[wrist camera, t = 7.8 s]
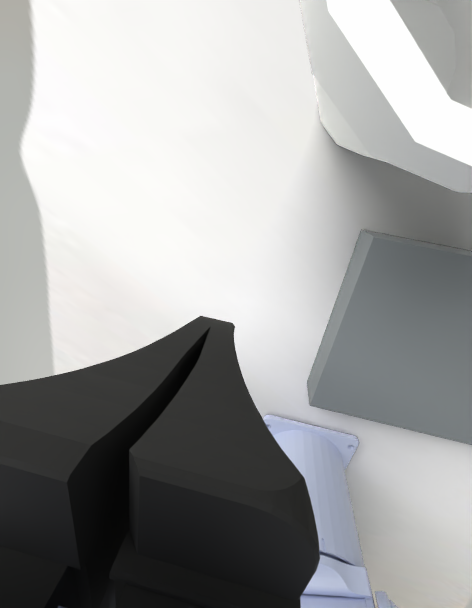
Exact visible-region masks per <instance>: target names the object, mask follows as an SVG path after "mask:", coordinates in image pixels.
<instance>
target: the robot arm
mask: <svg viewBox="0 0 472 608" xmlns="http://www.w3.org/2000/svg"><path fill="white" fill-rule="evenodd" d="M234 329H235V326H234V325H233V323H230V322H225V321H221V320H216V319H212V318H208V317H203V316H200V317H198V318H196V319H195V320H193V321H191V322H190V323H188V324H186V325H185V326H183V327H181V328H180V329H178V330H176V331H175V332H173V333H171V334H169V335H168V336H166V337H164V338H162V339H160V340H158V341H156V342H154V343H152V344H150V345H148V346H146V347H143V348H141V349H139V350H137V351H134V352H132V353H129V354H126V355H124V356H121V357H119V358H116V359H113V360H110V361H106V362H103V363H100V364H96V365H93V366H90V367H87V368H83V369H80V370H76V371H72V372H67V373H63V374H59V375H54V376H50V377H45V378H40V379H35V380H29V381H24V382H17V383H11V384H5V385H0V608H375V605H374V600H373V596H372V591H371V587H370V582H369V578H368V573H367V569H366V568H365V565H364V560H363V556H362V551H361V546H360V541H359V537H358V532H357V527H356V522H355V518H354V513H353V508H352V503H351V499H350V494H349V489H348V484H347V480H346V475H345V469H346V467H347V466H348V464H349V462H350V460H351V458H352V456H353V454H354V452H355V450H356V448H357V446H358V445H359V441H358V438H357V437H356V436H354V435H350V434H346V433H341V432H337V431H333V430H329V429H325V428H321V427H317V426H313V425H309V424H305V423H301V422H297V421H293V420H289V419H285V418H281V417H277V416H273V415H266V416H265V417H264V419H262V417H261V415H260V413H259V412H258V410H257V408H256V406H255V404H254V402H253V400H252V398H251V396H250V394H249V392H248V389H247V387H246V384H245V382H244V379H243V376H242V374H241V370H240V367H239V364H238V360H237V356H236V351H235V345H234ZM267 424H269V425H267ZM375 595H376V600H377V604H378V608H398V607H397V606H396V605H395V604H394V603H393V602H392V601H391V600H389V598H388V596H387V594H386V593H385V592H383V591H377V592H375Z"/></svg>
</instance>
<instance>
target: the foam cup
mask: <svg viewBox="0 0 472 608" xmlns="http://www.w3.org/2000/svg"><path fill="white" fill-rule="evenodd" d="M299 2H300V8H301V14H302V19H303V25H304V31H305V37H306V43H307V48H308V54H309V60H310V66H311V71H312V74H313V76H314V84H315V92H316V98H317V103H318V109H319V115H320V121H321V124H322V125H323V126H324V128H325V129H326V131H327V132H328V133H329V135H330V136H331V137H332V139H333V140H334V141H335V143H336V144H337V145H339V146H341V147H344V148H346V149H348V150H351V151H353V152H355V153H358V154H360V155H362V156H366V157H369V158H373V159H377V160H380V161H384V162H387V163H390V164H392V165H394V166H397V167H399V168H401V169H404V170H406V171H408V172H411V173H413V174H415V175H418V176H420V177H422V178H425V179H427V180H429V181H432V182H434V183H436V184H439V185H441V186H443V187H446V188H448V189H450V190H453V191H455V192H464V193H472V0H299Z"/></svg>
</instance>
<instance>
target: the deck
mask: <svg viewBox="0 0 472 608" xmlns="http://www.w3.org/2000/svg"><path fill="white" fill-rule="evenodd" d="M307 386H308V395H309V403H310V406H314V407H318V408H322V409H326V410H330V411H334V412H338V413H342V414H347V415H351V416H355V417H359V418H363V419H367V420H371V421H375V422H380V423H384V424H388V425H392V426H396V427H400V428H404V429H408V430H412V431H417V432H421V433H425V434H429V435H433V436H437V437H441V438H445V439H449V440H454V441H458V442H462V443H466V444H470V445H472V251H469V250H464V249H459V248H454V247H448V246H443V245H438V244H433V243H428V242H423V241H418V240H412V239H407V238H402V237H397V236H392V235H387V234H381V233H376V232H371V231H366V230H361V232H360V235H359V238H358V241H357V243H356V246H355V249H354V252H353V255H352V258H351V260H350V263H349V266H348V269H347V272H346V274H345V277H344V280H343V283H342V286H341V288H340V291H339V294H338V297H337V300H336V302H335V305H334V308H333V311H332V314H331V316H330V319H329V322H328V325H327V328H326V330H325V333H324V336H323V339H322V342H321V345H320V347H319V350H318V353H317V356H316V359H315V361H314V364H313V367H312V370H311V373H310V375H309V378H308V381H307Z"/></svg>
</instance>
